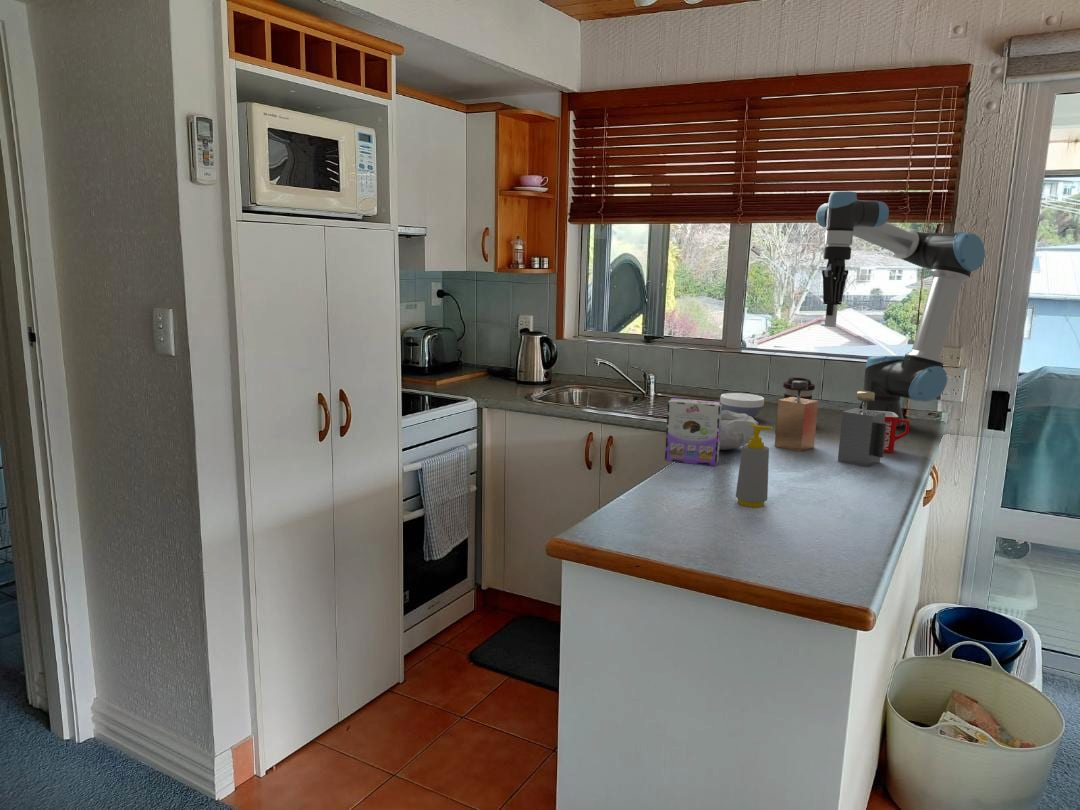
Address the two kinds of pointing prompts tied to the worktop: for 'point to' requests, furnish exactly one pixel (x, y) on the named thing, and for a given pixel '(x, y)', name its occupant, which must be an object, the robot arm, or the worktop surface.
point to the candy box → (693, 431)
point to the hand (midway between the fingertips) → (830, 326)
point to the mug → (892, 430)
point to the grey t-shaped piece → (799, 387)
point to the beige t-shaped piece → (865, 398)
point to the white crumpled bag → (735, 430)
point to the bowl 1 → (742, 403)
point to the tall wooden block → (796, 423)
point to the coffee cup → (793, 392)
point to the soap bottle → (753, 471)
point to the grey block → (862, 437)
